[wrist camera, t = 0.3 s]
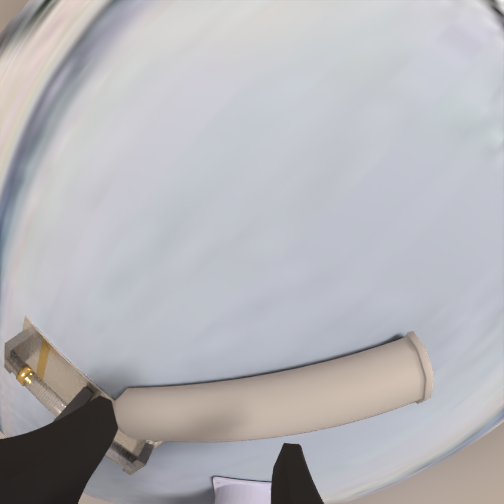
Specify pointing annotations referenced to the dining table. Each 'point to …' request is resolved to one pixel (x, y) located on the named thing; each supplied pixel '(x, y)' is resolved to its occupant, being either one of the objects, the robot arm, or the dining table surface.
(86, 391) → the dark gray slab
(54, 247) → the dining table surface
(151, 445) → the rod rig
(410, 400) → the tube
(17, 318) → the dining table surface
